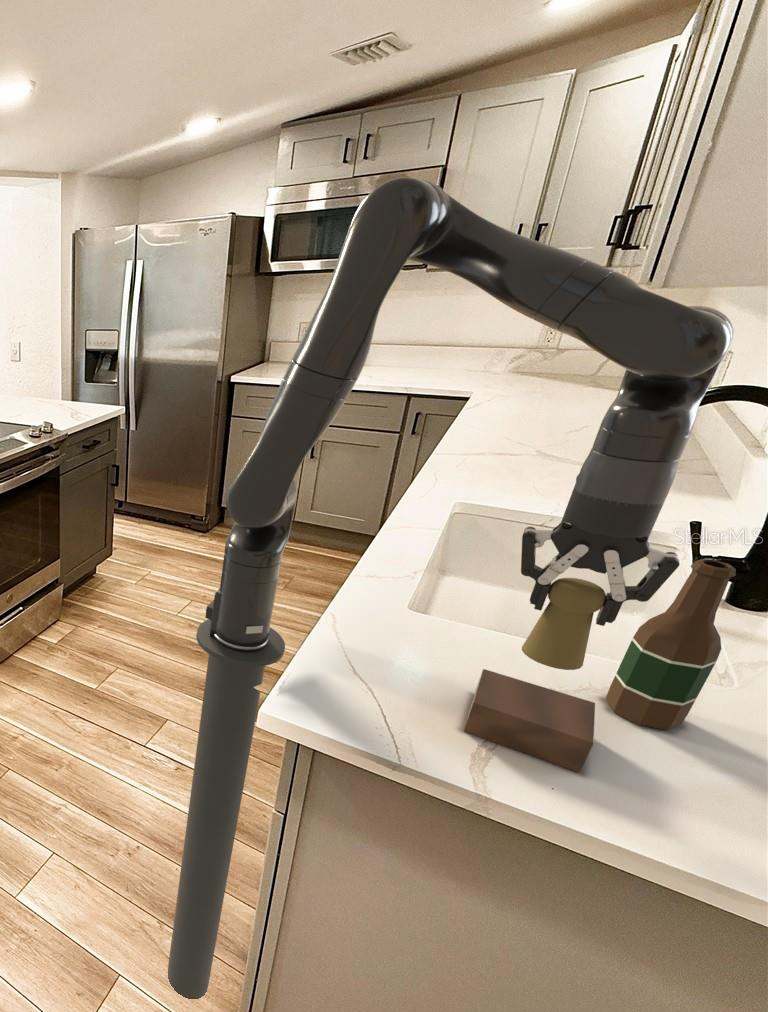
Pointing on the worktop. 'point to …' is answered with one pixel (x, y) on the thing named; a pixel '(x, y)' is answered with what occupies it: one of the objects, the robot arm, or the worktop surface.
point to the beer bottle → (672, 653)
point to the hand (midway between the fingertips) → (568, 614)
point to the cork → (565, 624)
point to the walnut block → (532, 719)
